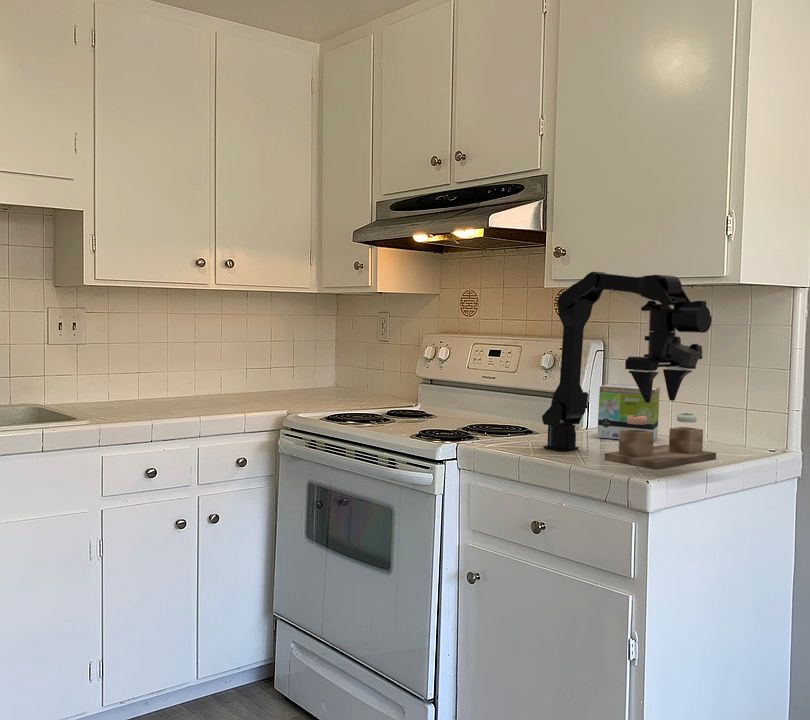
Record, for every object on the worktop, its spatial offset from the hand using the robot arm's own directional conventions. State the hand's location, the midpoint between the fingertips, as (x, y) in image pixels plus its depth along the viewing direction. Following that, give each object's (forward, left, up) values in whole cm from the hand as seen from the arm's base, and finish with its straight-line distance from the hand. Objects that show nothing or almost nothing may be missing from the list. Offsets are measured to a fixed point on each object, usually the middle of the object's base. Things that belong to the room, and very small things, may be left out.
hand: (659, 401), depth 178 cm
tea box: (-30, +30, -15) cm, 45 cm away
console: (-5, +9, -15) cm, 18 cm away
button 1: (-7, +2, -6) cm, 10 cm away
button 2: (-3, +16, -6) cm, 17 cm away
